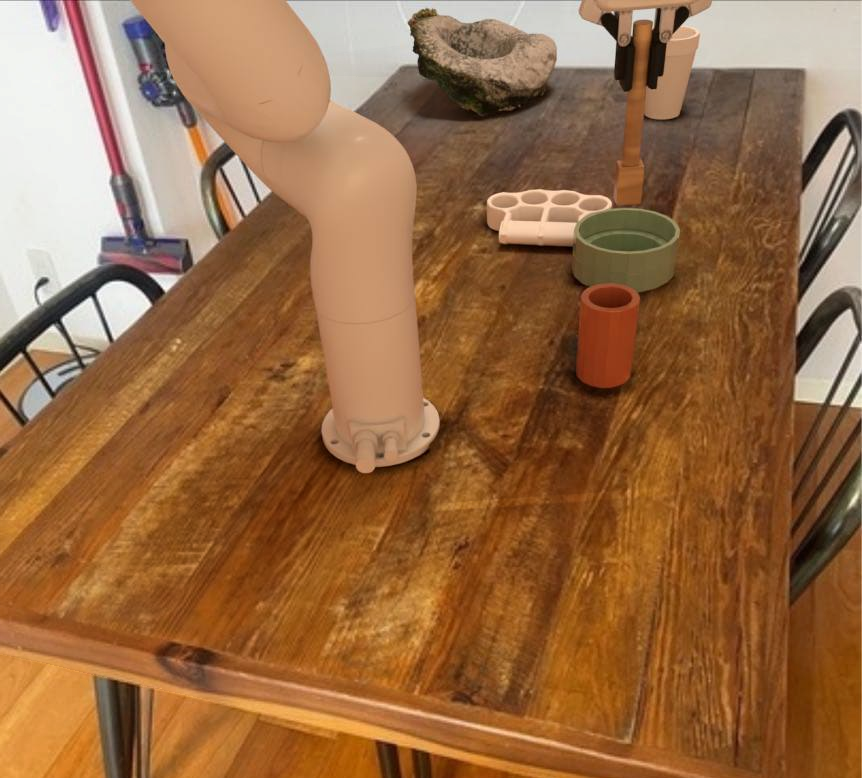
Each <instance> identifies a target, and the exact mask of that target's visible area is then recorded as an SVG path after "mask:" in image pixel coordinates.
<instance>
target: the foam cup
mask: <svg viewBox="0 0 862 778" xmlns="http://www.w3.org/2000/svg"><path fill="white" fill-rule="evenodd" d="M653 28H654V26H653V27H652V30H653ZM700 37H701V31H699V29H698V28H694V27H692V26H686V25H681V26H680V27H679V28H678V29H677V31H676V32H675V33H674V34H673V35H672V38H671V40H670V41H669V42H667V47H666V56H665V65H664V73H663V76H661V77H658V82H657V89H652V90H651V89H650V88H648V86H647V89H646V99H645V109H644V117H647V118H649V119H653V120H670V119H674V118H677V117H679V116H680V114H681V111H682V107H683V104H684V99H685V95H686V91H687V89H688V88H687V87H688V84H689V80H690V76H691V72H692V68H693V64H694V61H695V56H696V52H697V50H698V49H699V43H700Z"/></svg>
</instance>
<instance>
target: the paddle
mask: <svg viewBox="0 0 862 778" xmlns="http://www.w3.org/2000/svg"><path fill="white" fill-rule="evenodd" d="M653 27H654V20H650V19H637V20H635V21H633V22H632V32H631V36H632V37H633V40H632V44H634V46H635V59H634V71H633V82H632V90H630V91H628V92H627V94H626V107H625V118H624V129H623V131H624V132H623V143H622V154H621V160H616V162H615V163H616V164H615V174H614V184H613V185H614V187H613V201H614V202H615V205H616V206H630V205H631V206H632V205H641V204H642V198H643V197H642V196H643V187H644V186H643V185H644V177H645V176H644V175H645V164H644V162H643V160H642V158H641V150H642V140H643V139H642V138H643V129H644V118H645V114H644V109H645V99H646V89H647V78H648V68H649V58H650V47H651V37H652V28H653Z"/></svg>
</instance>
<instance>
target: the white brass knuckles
mask: <svg viewBox="0 0 862 778" xmlns="http://www.w3.org/2000/svg"><path fill="white" fill-rule="evenodd" d="M607 209H613V201H612V200H611V199H610V198H609V197H607V196H604V195H602V194H595V195H593V194H584V193H580V192H577V191H573V190H567V189H561V190H549V189H548V190H547V189H543V188H542V189H541V188H540V189H539V188H538V189H528V190H524V191H520V192H505V191H502V192H498V193H495V194H492V195H490V196H489V197H488V198H487V200H486V223H487V226H488V227H489V228H490V229H492V230H494V231H496V232H498V243H499V244H502V245H509V244H510V245H529V246H530V245H531V246H539V247H544V246H548V247H549V246H550V247H552V246H554V247H572V248H573V237H574V229H575V226H576V223H577V222H579V221H580V220H581V219H582V218H583V217H585V216H587V215H590V214H592V213H594V212H598V211H602V210H607Z"/></svg>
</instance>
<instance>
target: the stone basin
mask: <svg viewBox="0 0 862 778" xmlns="http://www.w3.org/2000/svg"><path fill="white" fill-rule="evenodd" d="M407 26H409V31H410V34H409V36H411V37H413V46H412V52H413V53H414V54H416V55H417V56H418V57H417V69H418V74H419V75H420V76H421V77H423V78H426V79H428V80H429V81H435V82H436V83H437V85H438V87H439V88H440V89H441V91H442V92H445V93H446V94H447V95H448V97H449V98H450V99H451V100H452V101H454V102H455V104H457V106H459V107H460V108H462V109H465V110H467V111H469V110H471V111H473V112H475V113H477V114H478V115H479V116H480V117H486V116H487V115H495V114H497V113H498V112H502V111H513V110H514V109H516V108H518V107H519V108H521V106H522V105H523V104H526V103H527V102H528V101H529V99H530V100H533V99H534V97H543V96H544V93H545V92H546V91H547V89H546V87H547V85H548V83H549V81H550V78H551V74H552V73H553V72H554V70H555V67H556V63H557V59H558V49H557V44H556V42H555V40H554V39H553V38H551V36H548V35H546V34H544V33H527V32H525V31H523V30H521V29H519V28H518V27H515V26H513V25H510V24H508V23H506V22H503V21H501V20H499V19H496V18H495V19H494V18H485V19H482V20H477V21H473V22H462V21H460V20H458V19H457V18H454V17H453V16H452V15H440V14H439V13H438V11H437V9H436V8H434V7H431V8H429V7H427V6H425V8H422V9H419V11H417V12H414V13H412V16H411V18H410V19H409V20H408V21H407Z"/></svg>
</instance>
